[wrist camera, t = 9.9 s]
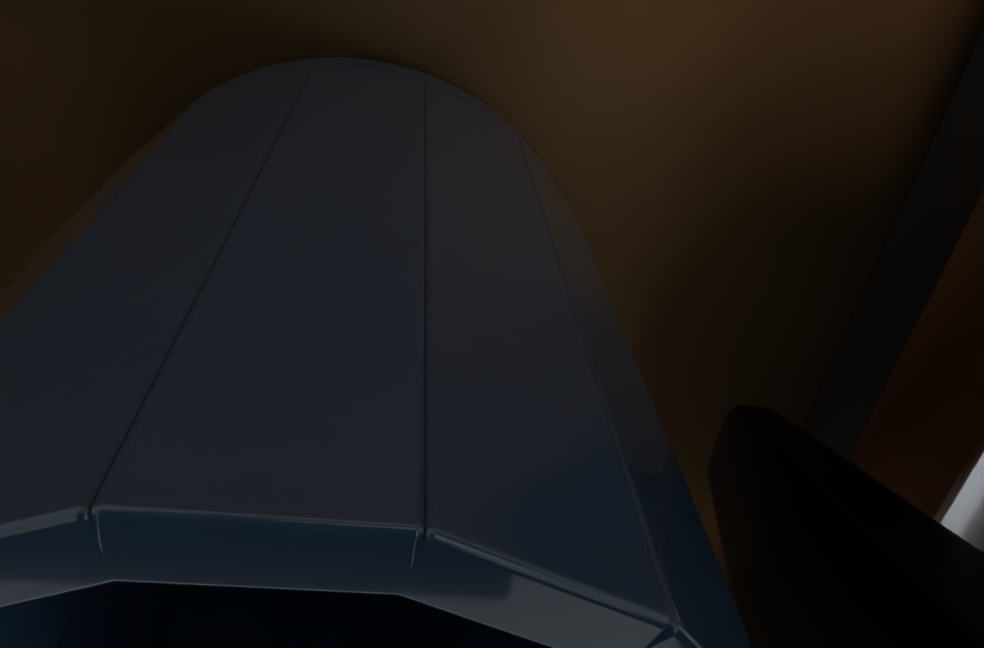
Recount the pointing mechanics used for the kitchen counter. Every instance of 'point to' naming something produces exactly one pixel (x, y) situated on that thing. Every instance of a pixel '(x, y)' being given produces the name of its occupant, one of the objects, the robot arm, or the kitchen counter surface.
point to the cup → (336, 396)
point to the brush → (923, 337)
